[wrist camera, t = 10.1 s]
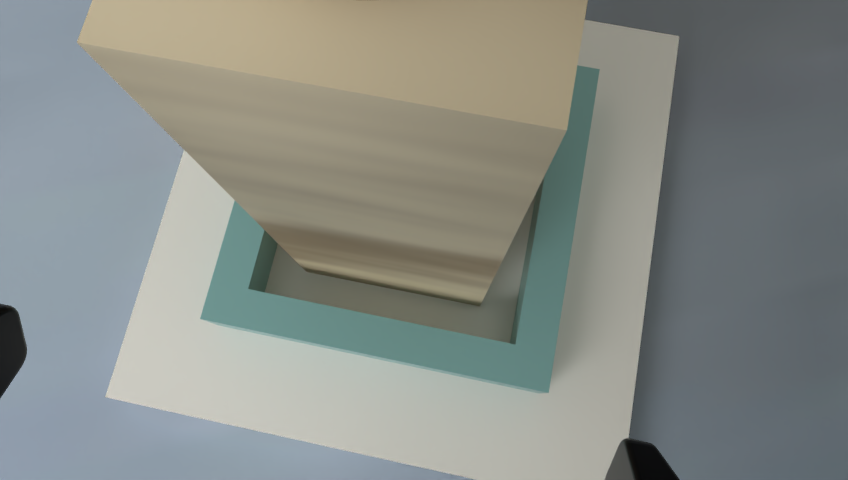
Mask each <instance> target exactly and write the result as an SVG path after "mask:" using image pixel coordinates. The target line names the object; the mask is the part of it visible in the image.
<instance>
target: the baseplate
mask: <svg viewBox="0 0 848 480" xmlns="http://www.w3.org/2000/svg"><path fill="white" fill-rule="evenodd" d="M678 43H679V36H675V35H670V34H664V33H658V32H652V31H647V30H641V29H635V28H629V27H624V26H618V25H612V24H606V23H601V22H595V21H589V20H585V21H584V27H583V33H582V40H581V46H580V52H579V58H578V64H577V71H576V77H575V83H574V89H573V96H572V102H571V108H570V114H569V121H568V127H567V131H566V133H565V135H564V137H563V139H562V141H561V143H560V145H559V147H558V150H557V152H556V154H555V156H554V158H553V160H552V162H551V164H550V166H549V168H548V170H547V172H546V174H545V176H544V178H543V180H542V182H541V184H540V186H539V188H538V190H537V192H536V194H535V196H534V198H533V200H532V202H531V204H530V206H529V208H528V210H527V212H526V214H525V216H524V218H523V220H522V222H521V224H520V226H519V228H518V230H517V232H516V234H515V236H514V238H513V240H512V243H511V245H510V247H509V249H508V251H507V253H506V255H505V257H504V259H503V261H502V263H501V265H500V267H499V269H498V271H497V273H496V275H495V277H494V279H493V281H492V283H491V285H490V287H489V289H488V291H487V293H486V295H485V297H484V299H483V301H482V303H481V305H480V306H476V305H471V304H466V303H461V302H455V301H450V300H445V299H440V298H435V297H430V296H425V295H420V294H415V293H410V292H405V291H400V290H395V289H390V288H385V287H380V286H375V285H370V284H365V283H360V282H355V281H350V280H345V279H340V278H335V277H330V276H325V275H320V274H315V273H309V272H306V271H305V270H304V269H303V268H302V267H301V266H300V265H299V264H298V263H297V262H296V261H295V260H294V259H293V258H292V257H291V256H290V255H289V254H288V253H287V252H286V251H285V250H284V249H283V248H282V247H281V246H280V245H279V244H278V243H277V242H276V241H275V240H274V239H273V238H272V237H271V236H270V235H269V234H268V233H267V232H266V231H265V230H264V229H263V228H262V227H261V226H260V225H259V224H258V223H257V222H256V221H255V220H254V219H253V218H252V217H251V216H250V215H249V214H248V213H247V212H246V211H245V210H244V209H243V208H242V207H241V206H240V205H239V204H238V203H237V202H236V201H235V200H234V199H233V198H232V197H231V196H230V195H229V194H228V193H227V192H226V191H225V190H224V189H223V188H222V187H221V186H220V185H219V184H218V183H217V182H216V181H215V180H214V179H213V178H212V177H211V176H210V175H209V174H208V173H207V172H206V171H205V170H204V169H203V168H202V167H201V166H200V165H199V164H198V163H197V162H196V161H195V160H194V159H193V158H192V157H191V156H190V155H189V154H188V153H187V152H186V151H185V150H184V152H183V155H182V158H181V161H180V164H179V168H178V171H177V174H176V177H175V180H174V183H173V186H172V190H171V193H170V196H169V199H168V202H167V205H166V208H165V211H164V215H163V218H162V221H161V224H160V227H159V230H158V233H157V237H156V240H155V243H154V246H153V249H152V252H151V255H150V259H149V262H148V265H147V268H146V271H145V274H144V277H143V280H142V284H141V287H140V290H139V293H138V296H137V299H136V302H135V306H134V309H133V312H132V315H131V318H130V321H129V324H128V327H127V331H126V334H125V337H124V340H123V343H122V346H121V349H120V353H119V356H118V359H117V362H116V365H115V368H114V371H113V374H112V378H111V381H110V384H109V387H108V390H107V393H106V396H105V397H107V398H111V399H116V400H120V401H125V402H129V403H134V404H138V405H143V406H147V407H152V408H156V409H161V410H165V411H170V412H174V413H179V414H183V415H188V416H192V417H197V418H201V419H206V420H210V421H215V422H219V423H224V424H228V425H233V426H237V427H242V428H246V429H251V430H255V431H260V432H264V433H269V434H273V435H278V436H282V437H287V438H291V439H296V440H300V441H305V442H309V443H314V444H318V445H323V446H327V447H332V448H336V449H341V450H345V451H350V452H354V453H359V454H363V455H368V456H372V457H377V458H381V459H386V460H390V461H395V462H399V463H404V464H408V465H413V466H417V467H422V468H426V469H431V470H435V471H440V472H444V473H449V474H453V475H458V476H462V477H467V478H471V479H476V480H605V477H606V474H607V472H608V469H609V467H610V465H611V462H612V460H613V457H614V455H615V453H616V450H617V448H618V446H619V444H620V442H621V441H622V440H623V439H626V438H629V430H630V422H631V414H632V407H633V399H634V391H635V383H636V375H637V367H638V359H639V351H640V343H641V335H642V328H643V320H644V312H645V304H646V296H647V288H648V280H649V272H650V264H651V256H652V249H653V241H654V233H655V225H656V217H657V209H658V201H659V193H660V185H661V177H662V170H663V162H664V154H665V146H666V138H667V130H668V122H669V114H670V106H671V98H672V91H673V83H674V75H675V67H676V59H677V51H678Z"/></svg>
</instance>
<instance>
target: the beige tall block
mask: <svg viewBox="0 0 848 480" xmlns="http://www.w3.org/2000/svg"><path fill="white" fill-rule="evenodd" d="M587 2H588V0H92V3H91V6H90V9H89V11H88V14H87V17H86V19H85V22H84V25H83V27H82V30H81V33H80V36H79V38H78V41H77V43H78V44H79V45H80V46H81V47H82V48H83V49H84V50H85V51H86V52H87V53H88V54H89V55H90V56H91V57H92V58H93V59H94V60H95V61H96V62H97V63H98V64H99V65H100V66H101V67H102V68H103V69H104V70H105V71H106V72H107V73H108V74H109V75H110V76H111V77H112V78H113V79H114V80H115V81H116V82H117V83H118V84H119V85H120V86H121V87H122V88H123V89H124V90H125V91H126V92H127V93H128V94H129V95H130V96H131V97H132V98H133V99H134V100H135V101H136V102H137V103H138V104H139V105H140V106H141V107H142V108H143V109H144V110H145V111H146V112H147V113H148V114H149V115H150V116H151V117H152V118H153V119H154V120H155V121H156V122H157V123H158V124H159V125H160V126H161V127H162V128H163V129H164V130H165V131H166V132H167V133H168V134H169V135H170V136H171V137H172V138H173V139H174V140H175V141H176V142H177V143H178V144H179V145H180V146H181V147H182V148H183V149H184V150H185V151H186V152H187V153H188V154H189V155H190V156H191V157H192V158H193V159H194V160H195V161H196V162H197V163H198V164H199V165H200V166H201V167H202V168H203V169H204V170H205V171H206V172H207V173H208V174H209V175H210V176H211V177H212V178H213V179H214V180H215V181H216V182H217V183H218V184H219V185H220V186H221V187H222V188H223V189H224V190H225V191H226V192H227V193H228V194H229V195H230V196H231V197H232V198H233V199H234V200H235V201H236V202H237V203H238V204H239V205H240V206H241V207H242V208H243V209H244V210H245V211H246V212H247V213H248V214H249V215H250V216H251V217H252V218H253V219H254V220H255V221H256V222H257V223H258V224H259V225H260V226H261V227H262V228H263V229H264V230H265V231H266V232H267V233H268V234H269V235H270V236H271V237H272V238H273V239H274V240H275V241H276V242H277V243H278V244H279V245H280V246H281V247H282V248H283V249H284V250H285V251H286V252H287V253H288V254H289V255H290V256H291V257H292V258H293V259H294V260H295V261H296V262H297V263H298V264H299V265H300V266H301V267H302V268H303V269H304V270H305V271H306V272H309V273H315V274H320V275H325V276H330V277H335V278H340V279H345V280H350V281H355V282H360V283H365V284H370V285H375V286H380V287H385V288H390V289H395V290H400V291H405V292H410V293H415V294H420V295H425V296H430V297H435V298H440V299H445V300H450V301H455V302H461V303H466V304H471V305H476V306H480V305H481V303H482V301H483V299H484V297H485V295H486V293H487V291H488V289H489V287H490V285H491V283H492V281H493V279H494V277H495V275H496V273H497V271H498V269H499V267H500V265H501V263H502V261H503V259H504V257H505V255H506V253H507V251H508V249H509V247H510V245H511V243H512V240H513V238H514V236H515V234H516V232H517V230H518V228H519V226H520V224H521V222H522V220H523V218H524V216H525V214H526V212H527V210H528V208H529V206H530V204H531V202H532V200H533V198H534V196H535V194H536V192H537V190H538V188H539V186H540V184H541V182H542V180H543V178H544V176H545V174H546V172H547V170H548V168H549V166H550V164H551V162H552V160H553V158H554V156H555V154H556V152H557V150H558V147H559V145H560V143H561V141H562V139H563V137H564V135H565V133H566V131H567V127H568V121H569V114H570V108H571V102H572V96H573V89H574V83H575V77H576V71H577V64H578V58H579V52H580V46H581V40H582V33H583V27H584V21H585V15H586V8H587Z"/></svg>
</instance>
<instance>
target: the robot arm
mask: <svg viewBox="0 0 848 480" xmlns="http://www.w3.org/2000/svg"><path fill="white" fill-rule="evenodd" d="M26 354H27V346H26V342H25V338H24V333H23V329H22V325H21V321H20V317H19V314H18V312H17V310H16V309H15V308H14V307H12V306H9V305H4V304H0V398H1V397H2V395H3V394H4V392H5V391H6V389H7V388H8V386H9V385H10V383H11V382H12V380H13V379H14V377H15V376H16V374H17V373H18V371H19V370H20V368H21V367H22V365H23V363H24V361H25V358H26ZM605 480H680V479H679V478H678V477H677V475H676V474H675V473H674V471H673V470H672V468H671V467H670V466H669V464H668V463H667V462H666V460H665V459H664V457H663V456H662V455H661V453H660V452H659V451H658V449H657V448H656V447H655V446H654V445H653V444H651V443H648V442H644V441H639V440H634V439H630V438H626V439H623V440H622V441H621V442H620V444H619V446H618V448H617V450H616V453H615V455H614V457H613V460H612V462H611V465H610V467H609V469H608V472H607V474H606V477H605Z"/></svg>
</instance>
